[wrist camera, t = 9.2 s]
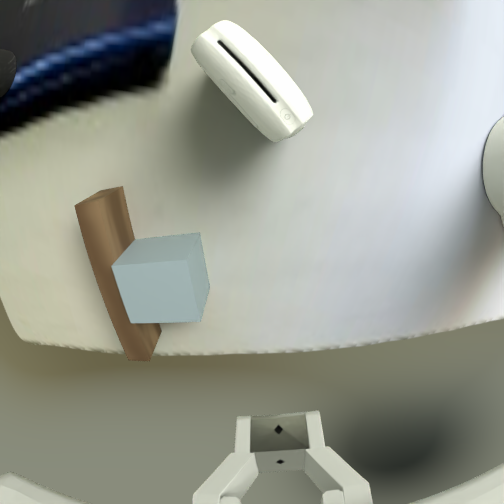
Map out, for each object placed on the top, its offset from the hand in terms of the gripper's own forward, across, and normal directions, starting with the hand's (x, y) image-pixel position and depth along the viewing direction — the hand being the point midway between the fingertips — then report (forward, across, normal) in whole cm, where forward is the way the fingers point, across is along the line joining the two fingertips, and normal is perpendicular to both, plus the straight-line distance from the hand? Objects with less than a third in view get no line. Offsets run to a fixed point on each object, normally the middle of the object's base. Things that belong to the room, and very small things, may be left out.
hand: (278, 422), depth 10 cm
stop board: (+25, +17, +5) cm, 31 cm away
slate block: (+25, +11, +5) cm, 28 cm away
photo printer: (+25, 0, -13) cm, 28 cm away
